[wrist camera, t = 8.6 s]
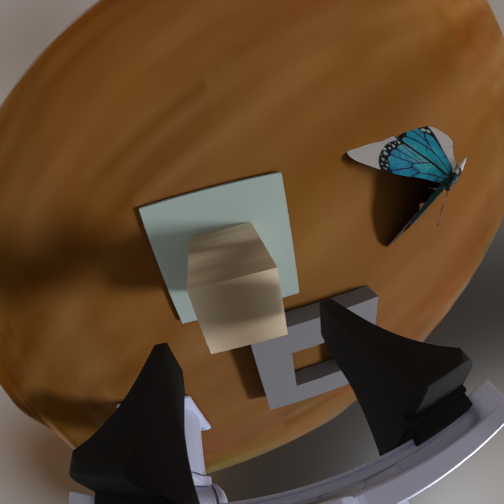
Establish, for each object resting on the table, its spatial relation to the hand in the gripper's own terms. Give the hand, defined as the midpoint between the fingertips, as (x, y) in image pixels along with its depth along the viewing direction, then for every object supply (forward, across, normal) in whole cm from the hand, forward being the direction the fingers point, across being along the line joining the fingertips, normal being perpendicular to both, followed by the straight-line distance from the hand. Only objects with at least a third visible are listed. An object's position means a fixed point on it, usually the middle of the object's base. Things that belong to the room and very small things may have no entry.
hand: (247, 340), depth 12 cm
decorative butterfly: (+10, -17, -3) cm, 20 cm away
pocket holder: (+9, -6, +13) cm, 17 cm away
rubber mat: (+9, 0, 0) cm, 9 cm away
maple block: (+9, 0, 0) cm, 9 cm away
